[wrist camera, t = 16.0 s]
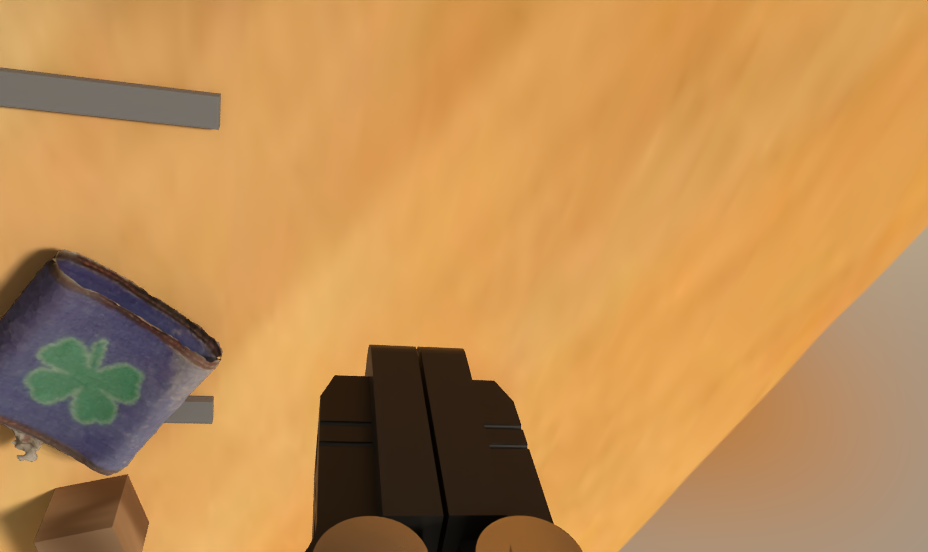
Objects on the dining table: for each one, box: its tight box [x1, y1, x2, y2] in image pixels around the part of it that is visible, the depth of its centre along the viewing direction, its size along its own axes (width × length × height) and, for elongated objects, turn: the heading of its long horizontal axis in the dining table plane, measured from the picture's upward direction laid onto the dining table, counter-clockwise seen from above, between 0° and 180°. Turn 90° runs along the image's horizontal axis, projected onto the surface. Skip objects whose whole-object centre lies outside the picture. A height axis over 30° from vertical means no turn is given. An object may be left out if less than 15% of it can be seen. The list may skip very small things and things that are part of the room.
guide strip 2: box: [164, 396, 214, 424], centre depth 39 cm, size 16×2×1 cm, turn 80°
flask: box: [0, 250, 223, 476], centre depth 37 cm, size 9×3×11 cm
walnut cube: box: [34, 474, 149, 552], centre depth 42 cm, size 4×4×4 cm
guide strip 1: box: [0, 68, 221, 130], centre depth 31 cm, size 16×2×1 cm, turn 80°
